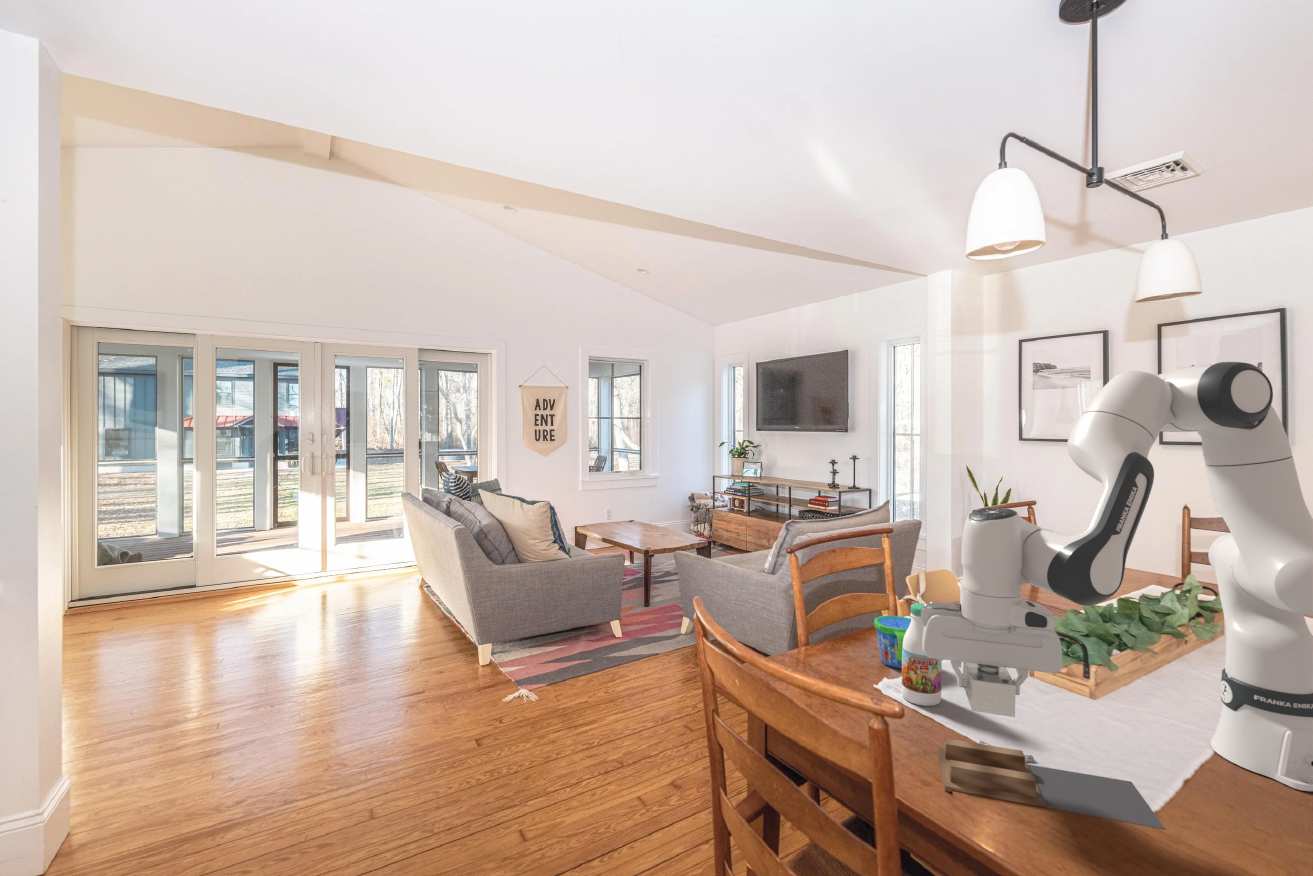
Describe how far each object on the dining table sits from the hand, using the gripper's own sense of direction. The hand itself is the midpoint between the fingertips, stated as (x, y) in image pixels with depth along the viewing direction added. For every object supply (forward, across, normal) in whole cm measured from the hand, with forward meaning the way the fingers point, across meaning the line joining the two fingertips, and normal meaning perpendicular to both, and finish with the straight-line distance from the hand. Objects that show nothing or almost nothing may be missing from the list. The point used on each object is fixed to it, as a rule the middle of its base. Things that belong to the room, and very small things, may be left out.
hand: (987, 689), depth 100 cm
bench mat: (+15, +14, 0) cm, 21 cm away
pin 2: (+15, +6, +8) cm, 18 cm away
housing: (+2, 0, 0) cm, 2 cm away
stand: (+15, 0, 0) cm, 15 cm away
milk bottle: (+15, -8, +27) cm, 32 cm away
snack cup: (+15, -12, +45) cm, 49 cm away
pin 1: (+14, +3, +9) cm, 17 cm away
